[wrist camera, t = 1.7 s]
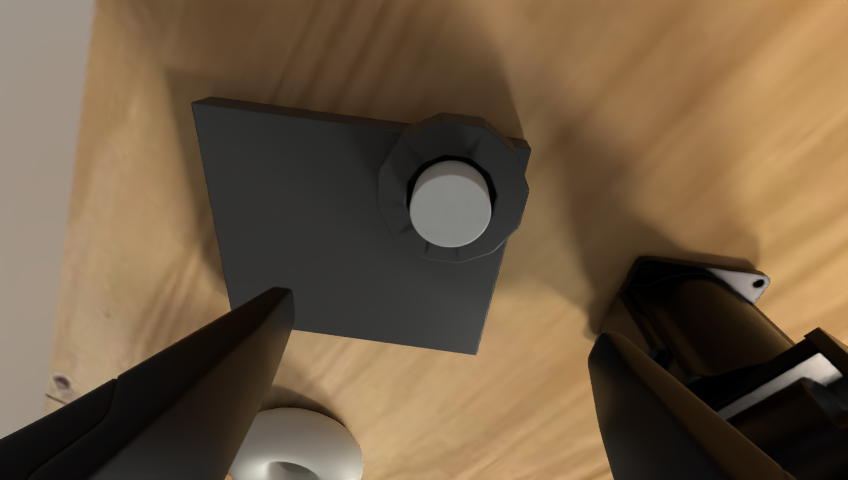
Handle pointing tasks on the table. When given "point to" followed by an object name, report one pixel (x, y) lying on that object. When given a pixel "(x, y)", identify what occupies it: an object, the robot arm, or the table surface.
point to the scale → (355, 218)
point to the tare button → (450, 204)
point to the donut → (297, 448)
